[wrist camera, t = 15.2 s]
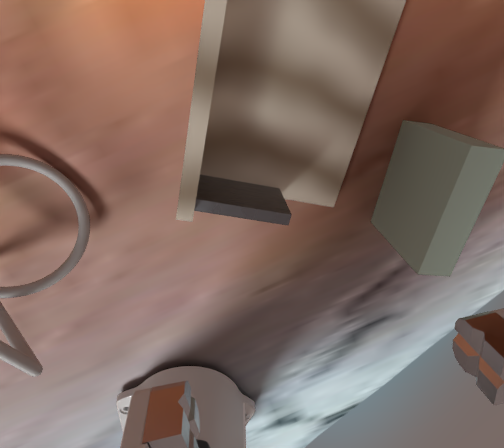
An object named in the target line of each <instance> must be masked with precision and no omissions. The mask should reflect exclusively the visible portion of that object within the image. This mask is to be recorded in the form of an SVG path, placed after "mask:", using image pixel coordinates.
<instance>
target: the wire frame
mask: <svg viewBox="0 0 504 448" xmlns="http://www.w3.org/2000/svg"><path fill="white" fill-rule="evenodd" d="M2 165H6V166H18V167H23V168H27V169H31V170H34V171H37V172H39V173H41V174H43V175H45V176H47V177H49V178H50V179H52V180H53V181H55V182H56V183H57V184H58V185H59V186H61V187H62V188H63V189H64V191H65V192H66V193H67V194H68V196H69V197H70V199H71V200H72V202H73V204H74V206H75V209H76V212H77V215H78V221H79V231H78V237H77V241H76V244H75V247H74V249H73V251H72V252H71V254H70V256H69V257H68V258H67V260H66V261H65V262H64V263H63V264H62V265H61V266H60V267H59V268H58V269H57V270H55V271H54V272H53V273H51V274H50V275H48V276H46V277H44V278H42V279H40V280H38V281H35V282H32V283H29V284H25V285H20V286H13V287H0V298H14V297H21V296H25V295H29V294H33V293H36V292H39V291H41V290H44V289H46V288H48V287H50V286H52V285H53V284H55V283H57V282H58V281H60V280H61V279H62V278H64V277H65V276H66V275H67V274H68V273H69V272H70V271H71V270H72V269H73V268H74V267H75V266H76V264H77V263H78V262H79V260H80V259H81V257H82V255H83V253H84V251H85V249H86V246H87V243H88V239H89V234H90V219H89V213H88V209H87V206H86V204H85V201H84V199H83V197H82V195H81V194H80V192H79V191H78V189H77V188H76V187H75V185H74V184H73V183H72V182H71V181H70V180H69V179H68V178H67V177H66V176H64V175H63V174H62V173H61V172H59V171H58V170H56V169H55V168H53V167H51V166H49V165H47V164H45V163H43V162H41V161H38V160H35V159H32V158H28V157H24V156H19V155H11V154H0V166H2ZM0 328H1V330H2V332H3V333H4V335H5V337H6V339H7V340H8V342H9V344H10V345H11V346H9V345H7V344H6V343H4V342H2V341H0V359H1V360H3V361H5V362H6V363H8V364H10V365H12V366H14V367H16V368H17V369H19V370H21V371H23V372H25V373H27V374H28V375H30V376H38V375H40V374H41V373H42V370H43V368H42V365H41V364H40V362H39V361H38V359H37V358H36V356H35V354H34V353H33V351H32V350H31V348H30V347H29V345H28V344H27V342H26V341H25V339H24V337H23V336H22V334H21V333H20V331H19V330H18V328H17V327H16V325H15V324H14V322H13V320H12V319H11V317H10V316H9V314H8V313H7V311H6V310H5V308H4V307H3V305H2V303H1V302H0Z"/></svg>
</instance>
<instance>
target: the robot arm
mask: <svg viewBox="0 0 504 448" xmlns="http://www.w3.org/2000/svg"><path fill="white" fill-rule="evenodd" d="M455 330H456V331H457V332H458V335H457V336H456V337H455V338H454V339H453V351H454V354H455V358H456V359H457V361H458V363H459V365H460V366H461V367H462V368H463V369H464V371H465V372H467V373H469V374H471V375H473V376H475V377H476V385H477V386H478V387H479V388H480V390H481V391H482V392H483V393H484V394H485V396H486V397H487V398H488V399H489V400H490V401H491V403H492V404H493V405H498V404H503V403H504V308H503V309H499V310H494V311H490V312H484V313H480V314H476V315H472V316H468V317H463V318H459V319H458V320H457V321H456V323H455ZM116 406H117V410H118V414H119V418H120V422H121V426H122V430H123V437H122V442H121V447H120V448H246V429H245V426H246V425H247V423H248V422H249V420H250V419H251V417H252V416H253V414H254V412H255V402H254V401H253V400H251V399H250V398H248V397H247V396H245V395H243V394H242V393H241V392H240V391H239V389H238V387H237V386H236V384H235V383H234V382H233V381H232V380H231V379H230V378H228V377H227V376H226V375H224V374H222V373H220V372H218V371H215V370H212V369H209V368H204V367H197V366H182V367H175V368H170V369H166V370H163V371H161V372H158V373H156V374H154V375H152V376H151V377H149V378H148V379H146V380H145V381H144V382H143V383H142V384H140V385H139V386H137V387H136V388H132V389H130V390H127V391H124V392H122V393H120V394H119V395H118V396H117V402H116Z"/></svg>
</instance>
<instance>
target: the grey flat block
mask: <svg viewBox="0 0 504 448" xmlns="http://www.w3.org/2000/svg"><path fill="white" fill-rule="evenodd" d="M503 163H504V148H501V147H498V146H495V145H493V144H490V143H487V142H484V141H481V140H478V139H475V138H472V137H469V136H466V135H463V134H460V133H457V132H454V131H451V130H448V129H445V128H442V127H440V126H437V125H434V124H429V123H422V122H414V121H406V120H403V122H402V125H401V128H400V131H399V134H398V137H397V141H396V144H395V147H394V150H393V153H392V156H391V159H390V163H389V166H388V169H387V172H386V175H385V178H384V181H383V185H382V188H381V191H380V194H379V197H378V200H377V203H376V207H375V210H374V213H373V216H372V219H371V223H372V224H373V225H374V226H375V227H376V228H377V230H378V231H379V232H380V233H381V234H382V235H383V236H384V237H385V239H386V240H387V241H388V242H389V243H390V244H391V245H392V246H393V248H394V249H395V250H396V251H397V252H398V253H399V254H400V255H401V256H402V258H403V259H404V260H405V261H406V262H407V263H408V264H409V265H410V267H411V268H412V269H413V270H414V271H415V272H416V273H417V274H418V275H434V276H450V275H451V273H452V271H453V269H454V267H455V264H456V262H457V260H458V258H459V256H460V254H461V252H462V250H463V248H464V245H465V243H466V241H467V239H468V237H469V235H470V233H471V231H472V228H473V226H474V224H475V222H476V220H477V218H478V216H479V214H480V211H481V209H482V207H483V205H484V203H485V201H486V199H487V197H488V194H489V192H490V190H491V188H492V186H493V184H494V182H495V180H496V177H497V175H498V173H499V171H500V169H501V167H502V165H503Z"/></svg>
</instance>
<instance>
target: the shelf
mask: <svg viewBox="0 0 504 448" xmlns="http://www.w3.org/2000/svg"><path fill="white" fill-rule="evenodd" d="M405 2H406V0H205V5H204V12H203V20H202V27H201V35H200V42H199V50H198V57H197V65H196V73H195V80H194V88H193V95H192V103H191V110H190V118H189V125H188V133H187V140H186V148H185V155H184V163H183V170H182V178H181V185H180V193H179V200H178V208H177V215H176V219H177V220H183V221H190V222H192V221H193V215H194V211H200V212H206V213H213V214H219V215H225V216H232V217H238V218H244V219H251V220H257V221H263V222H270V223H276V224H282V225H289V221H290V218H291V213H290V210H289V208H288V206H287V204H286V202H285V199H287V200H293V201H299V202H305V203H311V204H316V205H322V206H328V207H334V205H335V202H336V199H337V196H338V194H339V191H340V188H341V185H342V182H343V179H344V176H345V174H346V171H347V168H348V165H349V162H350V159H351V156H352V154H353V151H354V148H355V145H356V142H357V139H358V136H359V134H360V131H361V128H362V125H363V122H364V119H365V116H366V114H367V111H368V108H369V105H370V102H371V99H372V97H373V94H374V91H375V88H376V85H377V82H378V79H379V77H380V74H381V71H382V68H383V65H384V62H385V59H386V57H387V54H388V51H389V48H390V45H391V42H392V39H393V37H394V34H395V31H396V28H397V25H398V22H399V19H400V17H401V14H402V11H403V8H404V5H405Z"/></svg>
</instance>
